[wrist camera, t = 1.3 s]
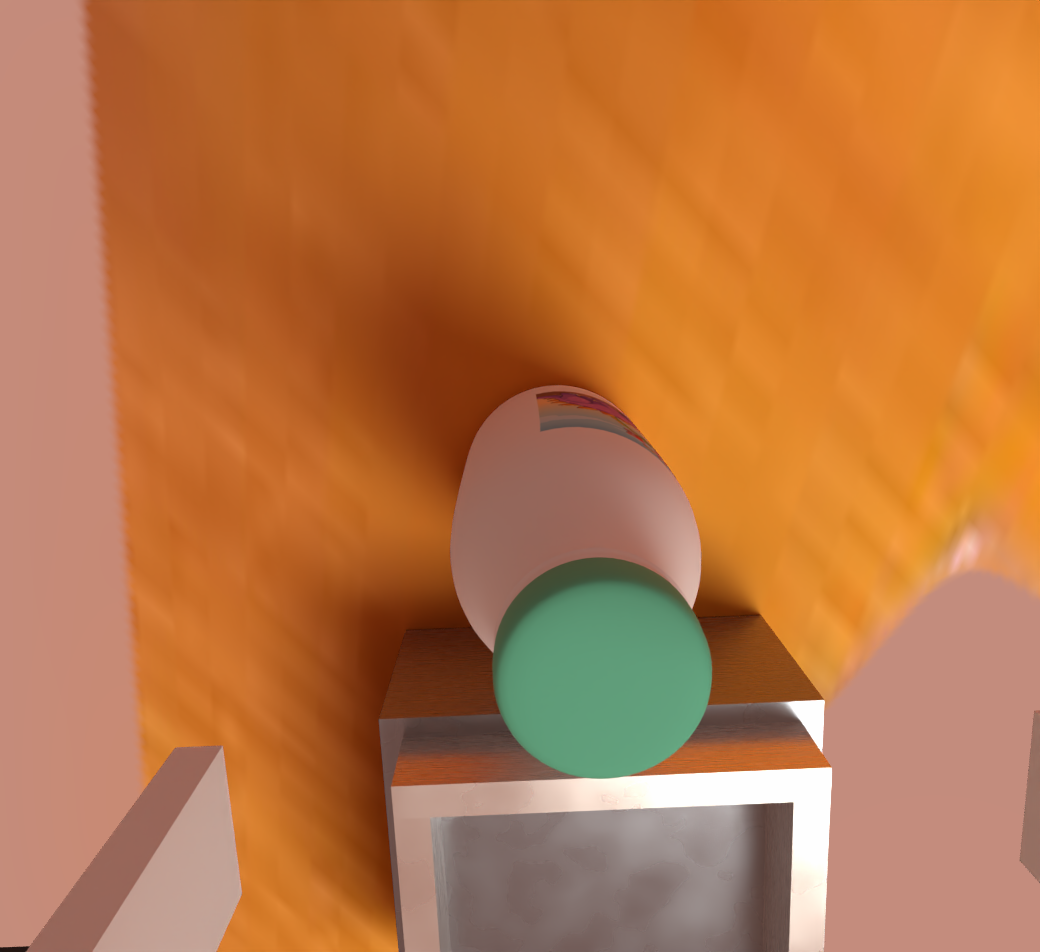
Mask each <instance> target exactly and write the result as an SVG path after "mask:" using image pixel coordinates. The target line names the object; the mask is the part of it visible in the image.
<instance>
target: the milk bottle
mask: <svg viewBox="0 0 1040 952" xmlns="http://www.w3.org/2000/svg"><path fill="white" fill-rule="evenodd" d="M450 558H451V568H452V575H453V580H454V585H455V589H456V593H457V596H458V599H459V602H460V604H461V607H462V609H463V611H464V613H465V615H466V617H467V619H468V621H469V623H470V624H471V626H472V628H473V629H474V631H475V632H476V634H477V635H478V636H479V637H480V639H481V640H482V641H483V642H484V643H485V645H486V646H487V647H488V648H489V649H490V650H491V651H492V652H493V662H492V671H493V687H494V694H495V698H496V702H497V705H498V708H499V711H500V714H501V716H502V718H503V720H504V722H505V723H506V725H507V727H508V728H509V730H510V732H511V733H512V735H513V736H514V737H515V739H516V740H517V741H518V743H519V744H520V745H521V746H522V747H523V748H524V749H525V750H526V751H527V752H529V753H530V754H531V755H532V756H533V757H535V758H536V759H538V760H539V761H540V762H542V763H544V764H546V765H547V766H549V767H551V768H553V769H556V770H558V771H560V772H563V773H566V774H569V775H573V776H577V777H584V778H592V779H610V778H619V777H624V776H629V775H632V774H636V773H639V772H642V771H644V770H647V769H649V768H651V767H653V766H655V765H657V764H659V763H661V762H662V761H664V760H665V759H667V758H668V757H670V756H671V755H672V754H674V753H675V752H676V751H677V750H678V749H679V748H680V747H681V746H682V745H683V744H684V743H685V742H686V741H687V740H688V739H689V738H690V736H691V735H692V734H693V732H694V731H695V729H696V728H697V726H698V725H699V723H700V721H701V719H702V717H703V715H704V713H705V710H706V707H707V704H708V700H709V696H710V691H711V683H712V661H711V655H710V649H709V646H708V643H707V639H706V637H705V635H704V632H703V630H702V627H701V625H700V623H699V620H698V619H697V617H696V615H695V613H694V612H693V610H692V608H693V605H694V602H695V599H696V596H697V592H698V588H699V583H700V575H701V544H700V538H699V532H698V528H697V525H696V521H695V518H694V514H693V511H692V508H691V506H690V503H689V501H688V499H687V497H686V495H685V493H684V491H683V489H682V488H681V486H680V484H679V483H678V481H677V480H676V478H675V476H674V475H673V473H672V472H671V470H670V469H669V467H668V466H667V465H666V463H665V462H664V461H663V459H662V458H661V457H660V456H659V454H658V453H657V452H656V450H655V449H654V448H653V447H652V445H651V444H650V443H649V442H648V441H647V439H646V438H645V437H644V436H643V435H642V433H641V432H640V431H639V430H638V429H637V428H636V426H635V425H634V424H633V423H632V422H631V420H630V419H629V418H628V417H627V416H626V415H625V414H624V413H623V412H622V411H621V410H620V409H619V408H617V407H616V406H615V405H614V404H612V403H611V402H610V401H608V400H607V399H605V398H603V397H602V396H600V395H598V394H596V393H593V392H591V391H588V390H585V389H582V388H578V387H573V386H565V385H550V386H542V387H537V388H533V389H530V390H527V391H524V392H522V393H519V394H517V395H515V396H513V397H512V398H510V399H508V400H507V401H505V402H504V403H503V404H501V405H500V406H499V407H498V408H496V409H495V410H494V411H493V412H492V413H491V414H490V415H489V416H488V418H487V419H486V420H485V421H484V423H483V424H482V426H481V427H480V429H479V430H478V432H477V434H476V436H475V438H474V440H473V443H472V445H471V448H470V450H469V454H468V457H467V461H466V465H465V469H464V472H463V476H462V480H461V484H460V488H459V493H458V497H457V502H456V507H455V511H454V517H453V523H452V533H451V546H450Z"/></svg>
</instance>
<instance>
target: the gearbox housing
mask: <svg viewBox="0 0 1040 952" xmlns="http://www.w3.org/2000/svg"><path fill="white" fill-rule="evenodd" d="M697 619H698V620H699V623H700V625H701V627H702V630H703V632H704V635H705V637H706V639H707V643H708V646H709V649H710V655H711V661H712V683H711V691H710V696H709V700H708V704H707V707H706V710H705V713H704V715H703V717H702V719H701V721H700V723H699V725H698V726H697V728H696V729H695V731H694V732H693V734H692V735H691V736H690V738H689V739H688V740H687V741H686V742H685V743H684V744H683V745H682V746H681V747H680V748H679V749H678V750H677V751H676V752H675V753H674V754H672V755H671V756H670V757H668V758H667V759H665V760H664V761H662V762H661V763H659V764H657V765H655V766H653V767H651V768H649V769H647V770H644V771H642V772H639V773H636V774H632V775H629V776H624V777H619V778H610V779H592V778H584V777H577V776H573V775H569V774H566V773H563V772H560V771H558V770H556V769H553V768H551V767H549V766H547V765H546V764H544V763H542V762H540V761H539V760H538V759H536V758H535V757H533V756H532V755H531V754H530V753H529V752H527V751H526V750H525V749H524V748H523V747H522V746H521V745H520V744H519V743H518V741H517V740H516V739H515V737H514V736H513V735H512V733H511V732H510V730H509V728H508V727H507V725H506V723H505V722H504V720H503V718H502V716H501V714H500V711H499V708H498V705H497V702H496V698H495V694H494V687H493V671H492V662H493V652H492V651H491V650H490V649H489V648H488V647H487V646H486V645H485V643H484V642H483V641H482V640H481V639H480V637H479V636H478V635H477V634H476V632H475V631H474V629H473V628H472V627H468V628H445V629H421V630H406V631H405V634H404V638H403V641H402V644H401V648H400V651H399V654H398V657H397V661H396V664H395V667H394V670H393V674H392V677H391V680H390V684H389V687H388V690H387V693H386V697H385V700H384V703H383V706H382V710H381V713H380V716H379V730H380V741H381V753H382V764H383V776H384V787H385V799H386V810H387V822H388V833H389V845H390V856H391V868H392V879H393V890H394V902H395V913H396V925H397V936H398V948H399V952H824V932H825V910H826V909H825V908H826V887H827V862H828V841H829V819H830V796H831V773H832V768H831V766H830V764H829V763H828V761H827V760H826V758H825V757H824V755H823V754H822V745H823V720H824V719H823V718H824V699H823V698H822V696H821V695H820V694H819V692H818V691H817V690H816V688H815V687H814V686H813V684H812V683H811V682H810V680H809V679H808V678H807V676H806V675H805V674H804V672H803V671H802V670H801V668H800V667H799V665H798V664H797V663H796V661H795V660H794V659H793V657H792V656H791V655H790V653H789V652H788V651H787V649H786V648H785V647H784V645H783V644H782V643H781V641H780V640H779V639H778V637H777V636H776V635H775V633H774V632H773V631H772V629H771V628H770V627H769V625H768V624H767V623H766V621H765V620H764V618H763V617H762V616H761V615H747V616H724V617H701V618H697Z"/></svg>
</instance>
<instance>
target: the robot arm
mask: <svg viewBox="0 0 1040 952" xmlns="http://www.w3.org/2000/svg"><path fill="white" fill-rule="evenodd" d="M1023 822H1024V823H1023V832H1022V842H1021V853H1020V861H1021V863H1022V864H1023V865H1024V866H1025V867H1026V868H1027V869H1028V870H1029V872H1031V874H1032V875H1033V876H1034V877H1035V878H1036V879H1037V881H1038V882H1039V883H1040V711H1034V718H1033V729H1032V739H1031V749H1030V759H1029V770H1028V780H1027V791H1026V801H1025V812H1024V821H1023ZM241 895H242V890H241V882H240V875H239V867H238V859H237V852H236V844H235V836H234V828H233V821H232V813H231V805H230V798H229V790H228V782H227V775H226V767H225V759H224V751H223V746H202V747H179V748H175V749H174V750H173V752H172V753H171V754H170V756H169V757H168V758H167V760H166V761H165V763H164V764H163V765H162V767H161V768H160V769H159V771H158V772H157V773H156V775H155V776H154V778H153V779H152V780H151V782H150V783H149V784H148V786H147V787H146V788H145V790H144V791H143V793H142V794H141V795H140V797H139V798H138V799H137V801H136V802H135V803H134V805H133V806H132V808H131V809H130V810H129V812H128V813H127V814H126V816H125V817H124V819H123V820H122V821H121V823H120V824H119V825H118V827H117V828H116V830H115V831H114V832H113V834H112V835H111V836H110V838H109V839H108V841H107V842H106V843H105V844H104V846H103V847H102V849H101V850H100V851H99V853H98V854H97V855H96V857H95V858H94V859H93V861H92V862H91V864H90V865H89V866H88V868H87V869H86V871H85V872H84V873H83V875H82V876H81V877H80V879H79V880H78V881H77V883H76V884H75V885H74V887H73V888H72V889H71V891H70V892H69V894H68V895H67V896H66V898H65V899H64V901H63V902H62V903H61V905H60V906H59V907H58V909H57V910H56V911H55V913H54V914H53V915H52V917H51V918H50V919H49V921H48V922H47V924H46V925H45V926H44V928H43V929H42V930H41V932H40V933H39V935H38V936H37V937H36V939H35V940H34V941H33V943H32V944H31V945H30V946H29V947H28V946H26V947H3V948H0V952H216V951H217V949H218V946H219V944H220V942H221V940H222V938H223V935H224V933H225V931H226V929H227V926H228V924H229V922H230V920H231V917H232V915H233V913H234V911H235V908H236V906H237V904H238V902H239V899H240V897H241Z"/></svg>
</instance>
